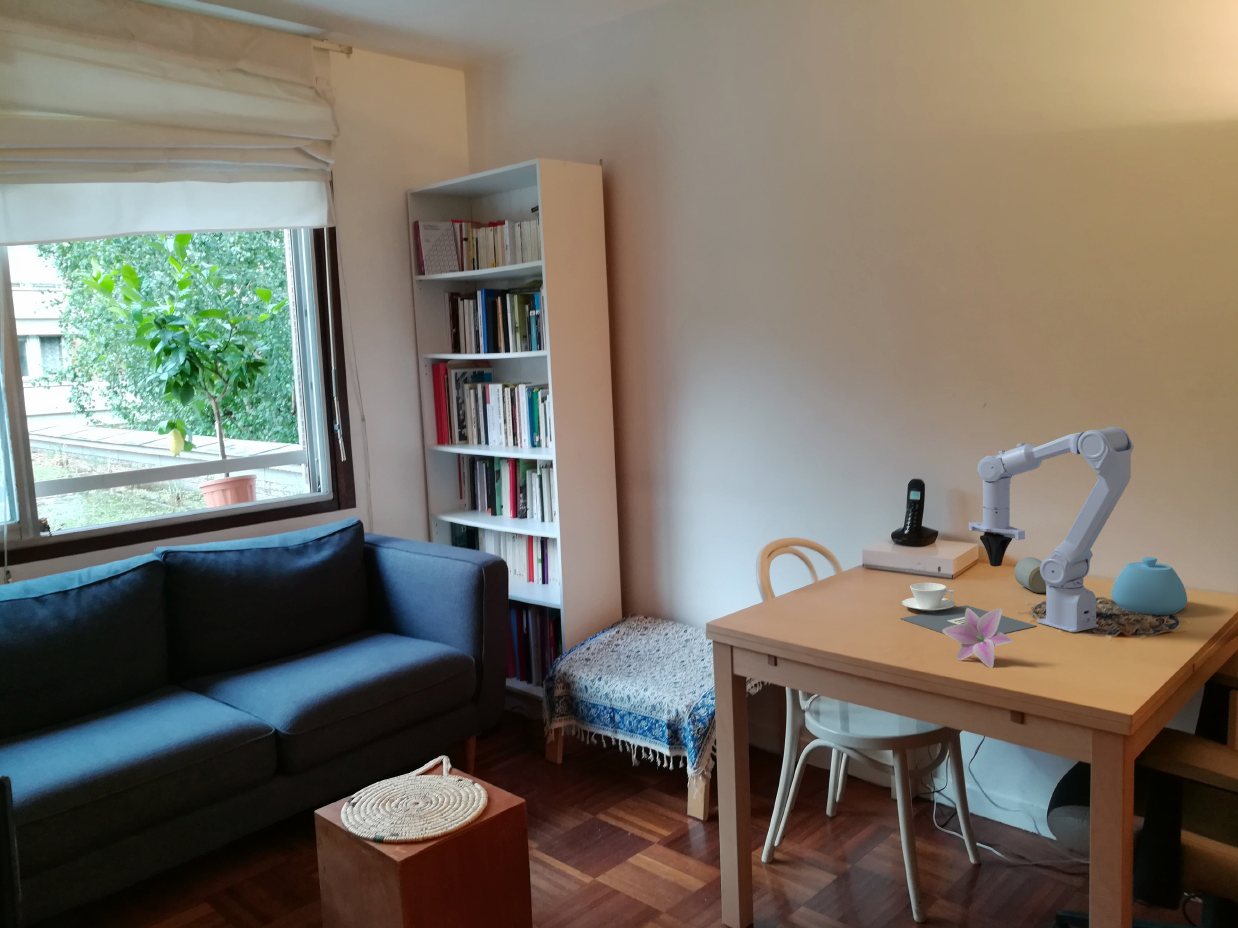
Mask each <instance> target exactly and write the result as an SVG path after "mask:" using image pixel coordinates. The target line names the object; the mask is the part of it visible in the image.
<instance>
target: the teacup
mask: <svg viewBox="0 0 1238 928" xmlns="http://www.w3.org/2000/svg"><path fill="white" fill-rule="evenodd" d="M909 588H910V590H911V593H912V595H913V597H910V598H906V599H905V598H904V600H902V602H901V605H903V606H905V607H906V608H910V609H916V610H919V611H923V612H935V611H940V610H945V609H950V608H955V607H956V605H957V603H956V602H955V600H952V599H953V597H954V593H955V590H952V589H948V588H947V586H946V585H944V584H941V583H938V582H937V583H934V582H918V583H914V584H911V585H910V586H909ZM949 593H950V594H951V595H950V598H949V599H948V598H944V597H945V596H946V594H949Z"/></svg>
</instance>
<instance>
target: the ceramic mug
mask: <svg viewBox="0 0 1238 928" xmlns="http://www.w3.org/2000/svg"><path fill="white" fill-rule="evenodd" d="M1041 563H1042V561H1041V560H1040V559H1039V558H1036V557H1034V556H1028V557H1027V556H1026V557H1024V558H1022V559H1020V560H1019V561H1018V562H1017V564H1016V565H1015V567H1014V578H1015V580H1016V582H1017V583H1018V584H1019V585H1021V587H1025V588H1026V589H1028V590H1030V591H1031V592H1034V593H1038V594H1044V593H1045V594H1046V581H1045V580H1044V579H1043V578H1042V576H1041V573H1040V565H1041Z"/></svg>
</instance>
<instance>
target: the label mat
mask: <svg viewBox="0 0 1238 928" xmlns="http://www.w3.org/2000/svg"><path fill="white" fill-rule="evenodd" d="M967 608H969V609H971V610H972V611H973V612H974V613H975V614H976V615H977V616H978V617H979V618H981V617H982V616H983V615H985V614H986V613H988V612H989V611H987V610H985V609H981V608H977V607H974V606H972V605H971V606H970V605H967V604H965V605H961V606H954V607H951V608H947V609H940V610H937V611H929V612H925V613H921V614H916V615H911V616H905V617H901V618H900V620H902V621H905V622H908V623H911V624H914V625H917V626H919V627H922V628H926V629H929V630H931V631H935V632H937V633H940V634H943V635H945V634H944V633H943V631H942V630H943V629H944V628H947V627H950V626H953V625H958V624H965V612H966V609H967ZM1035 627H1037V625H1035V624H1032V623H1029V622H1025V621H1022V620H1018V619H1014V618H1013V617H1008V616H1005V615H1003V614H1001V618H1000V621H999V625H998V628H997V631H999V632H1001V633H1003V634H1005V635H1006V634H1008V633H1013V632H1018V631H1022V630H1026V629H1031V628H1032V629H1033V628H1035Z"/></svg>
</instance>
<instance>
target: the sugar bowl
mask: <svg viewBox="0 0 1238 928" xmlns="http://www.w3.org/2000/svg"><path fill="white" fill-rule="evenodd" d="M1141 560H1142V561H1134V562H1129V563H1127V564H1126V565H1125V566H1124V568H1123V569H1122V570H1121V571H1120V573H1119V574H1118V576H1117V577H1116V578H1115V581H1114V583H1113V585H1112V588H1111V592H1110V593H1111V595H1110V597H1111V599H1112V601H1113V602H1114V603H1115V605H1116V606H1117V607H1118V608H1119V609H1121V608H1122V610H1123V609H1124V611H1126V610H1128V611H1127V612H1130V611H1132V612H1131V613H1135V612H1137V613H1136V614H1140V613H1144V614H1143V615H1149V614H1151V615H1153V616H1167V615H1174V614H1177V613H1179V612H1180V611H1182V610H1183V609H1184V608H1185V607H1186V606H1187V604H1188V596H1187V591H1186V588H1185V586H1184V584H1183V581H1182V579H1181V578H1180V577H1179V575H1178V574H1177V572H1176V571H1175V569H1174V568H1173V567H1172V566H1171V565H1168V564H1165V563H1161V562H1158V558H1156V557H1152V556H1143V557H1142V558H1141ZM1151 615H1150V616H1151Z"/></svg>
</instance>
